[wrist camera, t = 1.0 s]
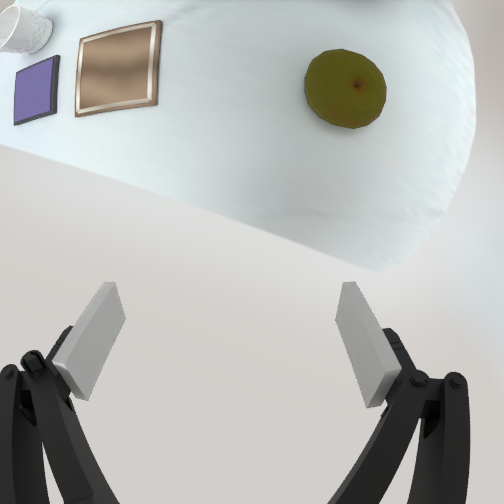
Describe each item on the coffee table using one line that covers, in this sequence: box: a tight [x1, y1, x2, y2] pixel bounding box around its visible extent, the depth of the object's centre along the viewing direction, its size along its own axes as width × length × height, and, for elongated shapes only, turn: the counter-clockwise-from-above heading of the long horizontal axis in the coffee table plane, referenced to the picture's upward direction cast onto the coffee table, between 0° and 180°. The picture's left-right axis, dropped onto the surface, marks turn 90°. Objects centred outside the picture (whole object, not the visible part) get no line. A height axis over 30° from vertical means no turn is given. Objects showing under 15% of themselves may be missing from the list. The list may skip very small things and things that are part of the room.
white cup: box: [0, 5, 53, 53], centre depth 20 cm, size 8×8×10 cm
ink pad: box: [14, 55, 60, 126], centre depth 28 cm, size 10×10×1 cm
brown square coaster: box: [75, 20, 162, 117], centre depth 29 cm, size 13×13×1 cm
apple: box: [305, 49, 386, 129], centre depth 27 cm, size 10×10×11 cm
